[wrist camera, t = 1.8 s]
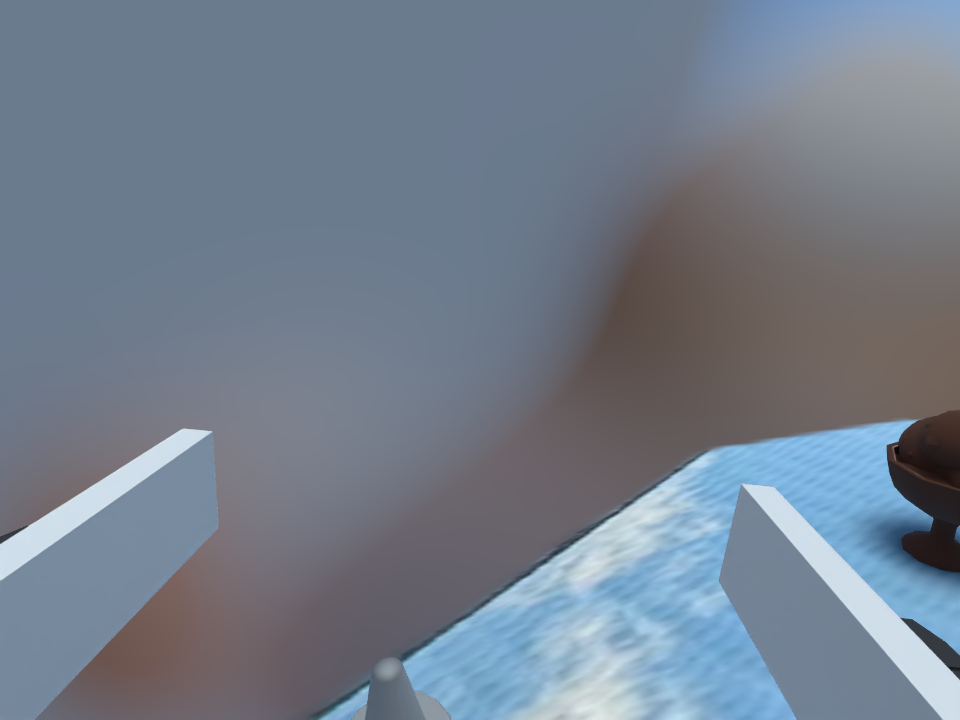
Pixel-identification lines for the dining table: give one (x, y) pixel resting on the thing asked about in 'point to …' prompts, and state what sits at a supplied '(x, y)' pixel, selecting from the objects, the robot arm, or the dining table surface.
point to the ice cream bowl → (931, 485)
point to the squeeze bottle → (397, 696)
